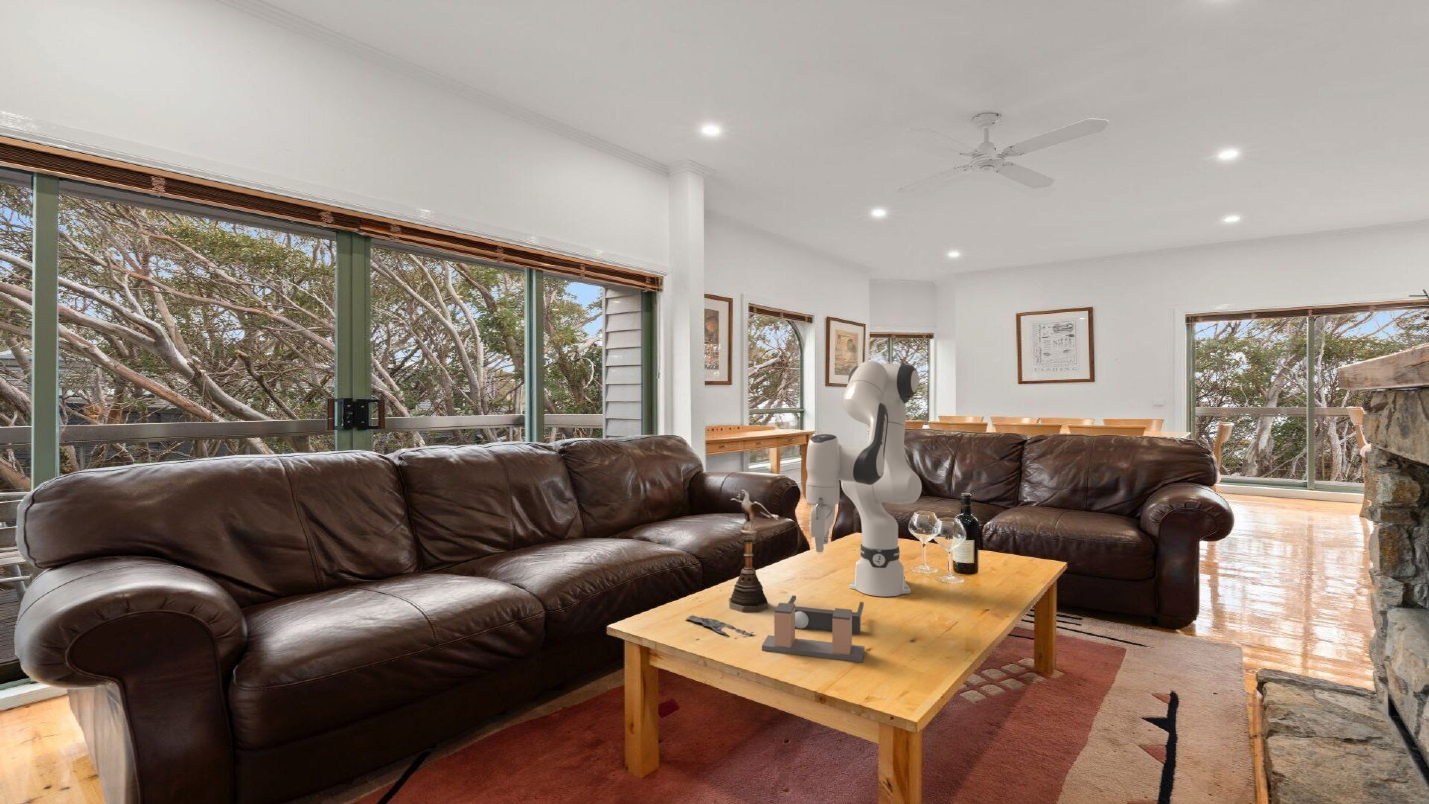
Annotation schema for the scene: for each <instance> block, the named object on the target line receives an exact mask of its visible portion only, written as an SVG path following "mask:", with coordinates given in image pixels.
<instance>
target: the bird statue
mask: <svg viewBox="0 0 1429 804" xmlns="http://www.w3.org/2000/svg"><path fill="white" fill-rule="evenodd" d="M750 482H752V481H750ZM740 492H741V494H742V495H743V499H742V500H741V498H742V496H741V494H740ZM740 492H739V493H738V494H737V495H738V496H736V498H731V499H730V502H731V504H733V505H734V506H736V507H737V508H738V509H739V510H740V511H741V512H742V513H743V514H744V517H745V521H744V522H743V524H742V525H741V529H740V530H739V533H740V539H741V540H743V541H744V542H743V543H744V553H743V556H744V566H743V567H742V569H741V570H740V574H739V577H738V579H737V581H736V582H735V583H736V584H734V586H733V587H734V588H733V591H732V593H731V595H730V596H731V597H728V605H729V606H728V607H729V609H731V610H735V611H737V612H741V613H759V612H761V611H764V610H767V609H768V608H769V602H768V599H767V597H766V595H765V592H764V589H763V588H764V587H763V585H762V583H761V581H759V578H758V576H757V570H755V568H754V567H753V556H754V553H753V541H755V540H756V539H757V533H758V530H757V529H755V525H754V522H755V518H760V519H767V520H772V519H774V520H776V521H777V522H778V523H780V520H779V517H780V516H779V515H777V514H772V513H770V512H769V511H768V510H767V509H766V507H764V505H763V504H762V503H760V502H759V501H753V502H752V501H751V500H750V494H749V493H750V492H748V490H745V489H741V490H740Z"/></svg>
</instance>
